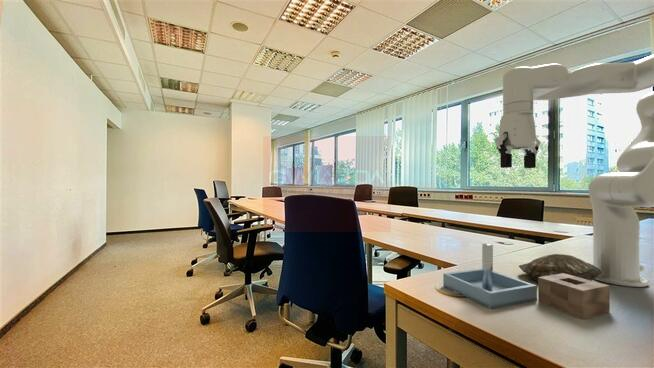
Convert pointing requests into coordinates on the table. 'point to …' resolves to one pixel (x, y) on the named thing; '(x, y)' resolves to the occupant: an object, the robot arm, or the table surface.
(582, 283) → the pin holder
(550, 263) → the crinkled plastic bag
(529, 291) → the tray
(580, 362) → the table surface
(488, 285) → the steel pin
